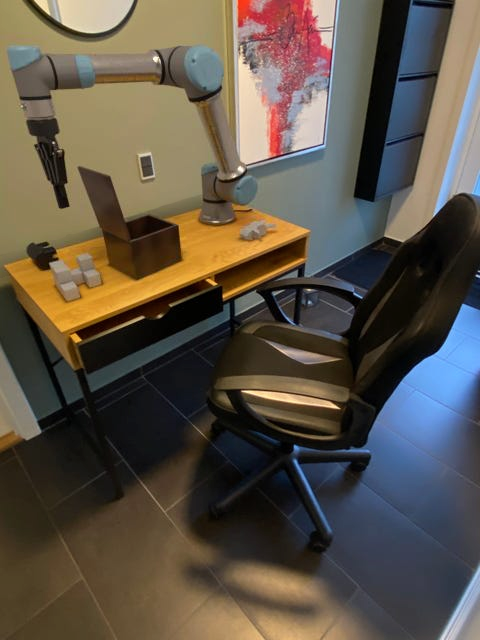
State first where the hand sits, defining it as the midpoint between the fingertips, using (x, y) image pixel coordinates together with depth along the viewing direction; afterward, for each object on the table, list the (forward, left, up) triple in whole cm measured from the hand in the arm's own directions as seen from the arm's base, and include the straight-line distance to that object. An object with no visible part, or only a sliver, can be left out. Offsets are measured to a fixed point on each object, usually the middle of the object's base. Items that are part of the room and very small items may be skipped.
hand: (64, 207), depth 116 cm
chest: (-20, +7, -23) cm, 31 cm away
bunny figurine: (-64, +20, -23) cm, 71 cm away
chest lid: (-9, +7, 0) cm, 12 cm away
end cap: (+4, -18, -23) cm, 30 cm away
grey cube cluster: (+4, +6, -23) cm, 24 cm away
